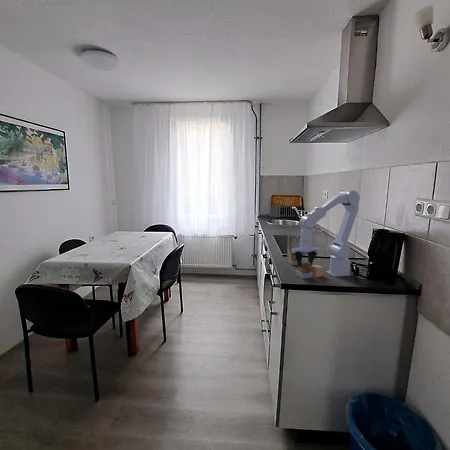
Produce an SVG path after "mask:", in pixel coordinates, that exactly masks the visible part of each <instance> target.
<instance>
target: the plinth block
mask: <svg viewBox="0 0 450 450" xmlns="http://www.w3.org/2000/svg"><path fill="white" fill-rule="evenodd" d="M295 276H297V277H298V276H299V278H300V279H312V278H313V277H314V276H313V273H312V272H310V273H301V272H300V271H298V269H297V270H295Z"/></svg>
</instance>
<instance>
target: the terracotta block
mask: <svg viewBox="0 0 450 450" xmlns="http://www.w3.org/2000/svg"><path fill="white" fill-rule="evenodd" d="M310 272H312V273H313V277H315V278H319V277H323V276H324V266H322V265H318V264H312V265H311V270H310Z"/></svg>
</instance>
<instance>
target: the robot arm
mask: <svg viewBox="0 0 450 450" xmlns="http://www.w3.org/2000/svg"><path fill="white" fill-rule="evenodd" d="M334 194H335V195H334V196H333V197H331V198H330V199H329V200H328V201H326V202H325V203H324V204H323V205H322V206H316V207H313V210H311V211H310V212H308V213H307V214H306V215H302V217H300V219H299V220H298V224H299V226H300V235H299V237H300V247H299V248H292V251H291V252H292V253H294V254H295V257H296V259H297V264H298V265H297V267H298V266H299V267H301V261H303V260H302V259H303V257H304V254H303V253H307V261H308V262H310V263H311V265H313V263H314V260H315V258H316V257H317V255H318V253H320V247H313V232H314V228H315V227H316V224H317V223H318V222H319V221H321V220H322V219H323V218H324V217H326V216H327V212H328V211H330V210H332V209H333V208H334V207H336V206H338V205H339V204H340V205H342V206H343V207H344V209H345V211H344V215H343V218H342V221H341V224H340V226H339V229H338V232H337V236H336V238H335V239H333V240H332V242H331V243H330V245H329V246H328V247H327V252H328V254H329V256H330V258H329V259H330V261H329V270H326V271H325V273H328V274H329V275H331V276H333V277H347V276H351V274H350V271H351V270H350V269H351V261H350V259H349V258H348V257H349V255H350V247H351V246H350V244H349V242H348V241H349V238H350V235H351V232H352V229H353V228H354V227H353V226H354V223H355V221H356V217H357V215H358V212H359V202H360V199H361V196H360V194H359V193H358V191H356V190H344V189H342V190H339V191H338V192H336V193H334ZM301 252H302V254H301Z"/></svg>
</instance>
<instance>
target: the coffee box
mask: <svg viewBox="0 0 450 450" xmlns="http://www.w3.org/2000/svg"><path fill="white" fill-rule="evenodd" d="M299 247H300V235H287V249H286V250H287V251H286V262H287V263H288V264H289V265H291V266H298V264H297V259H296V257H295V254H294V253H292V252H291V251H292V248H299ZM301 254H302V255H303V252H301Z"/></svg>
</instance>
